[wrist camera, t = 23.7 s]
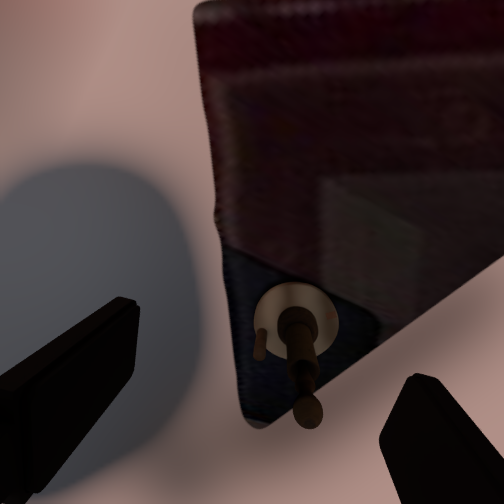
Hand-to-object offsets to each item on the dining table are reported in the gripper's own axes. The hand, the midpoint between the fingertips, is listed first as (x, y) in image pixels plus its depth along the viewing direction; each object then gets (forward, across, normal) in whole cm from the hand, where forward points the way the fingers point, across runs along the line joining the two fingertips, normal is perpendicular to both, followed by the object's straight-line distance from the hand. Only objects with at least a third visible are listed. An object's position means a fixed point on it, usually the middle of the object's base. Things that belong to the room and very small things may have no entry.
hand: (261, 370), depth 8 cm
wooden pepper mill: (+30, -7, +15) cm, 35 cm away
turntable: (+32, -7, +15) cm, 36 cm away
